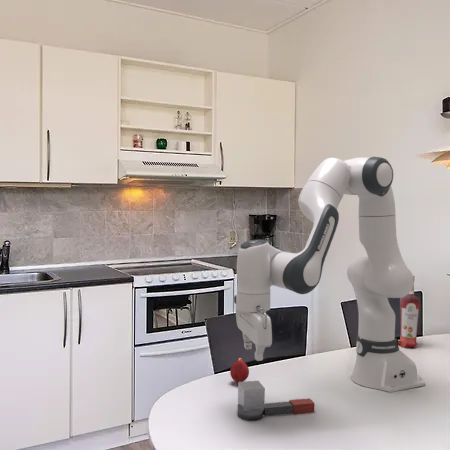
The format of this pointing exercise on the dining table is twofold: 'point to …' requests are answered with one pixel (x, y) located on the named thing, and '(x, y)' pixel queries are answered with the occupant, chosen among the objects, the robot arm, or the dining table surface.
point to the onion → (239, 371)
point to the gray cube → (251, 395)
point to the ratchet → (278, 409)
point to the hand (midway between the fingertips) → (253, 354)
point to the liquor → (409, 318)
